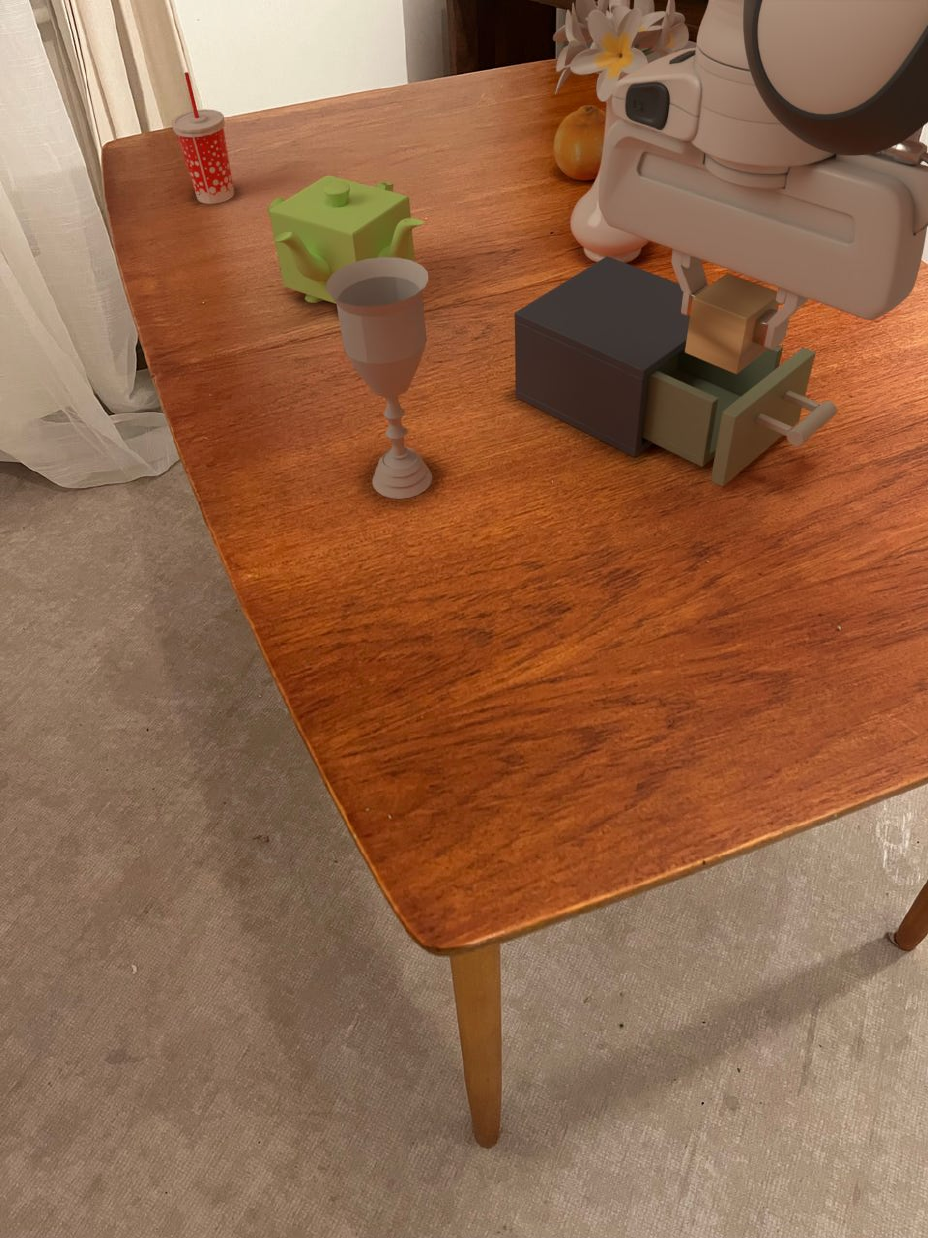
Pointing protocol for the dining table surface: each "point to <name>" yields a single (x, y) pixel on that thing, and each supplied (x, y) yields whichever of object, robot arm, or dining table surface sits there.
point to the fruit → (580, 143)
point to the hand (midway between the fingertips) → (730, 327)
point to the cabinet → (599, 349)
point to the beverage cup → (205, 151)
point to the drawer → (731, 409)
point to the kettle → (338, 231)
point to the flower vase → (616, 59)
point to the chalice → (386, 352)
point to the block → (728, 322)
